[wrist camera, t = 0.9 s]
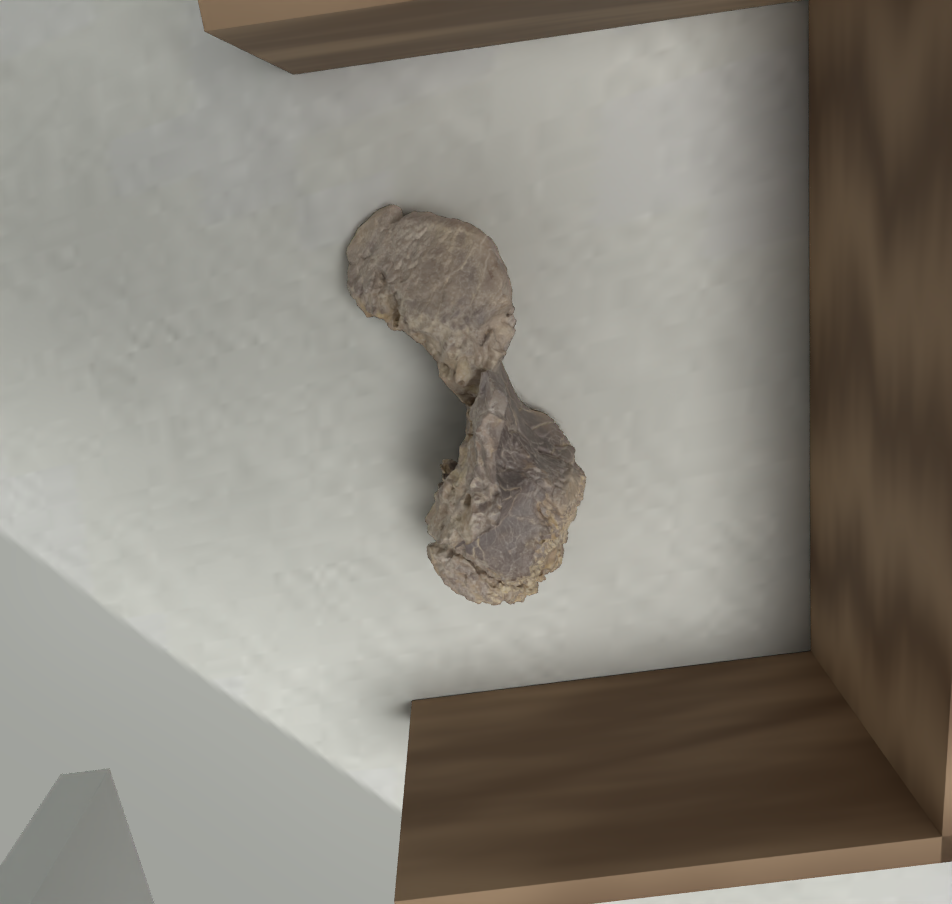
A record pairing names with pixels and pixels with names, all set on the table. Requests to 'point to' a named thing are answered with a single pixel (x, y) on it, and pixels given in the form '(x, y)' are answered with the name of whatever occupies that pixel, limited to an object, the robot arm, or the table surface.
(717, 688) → the walnut cubby
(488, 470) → the rock
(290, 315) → the table surface
